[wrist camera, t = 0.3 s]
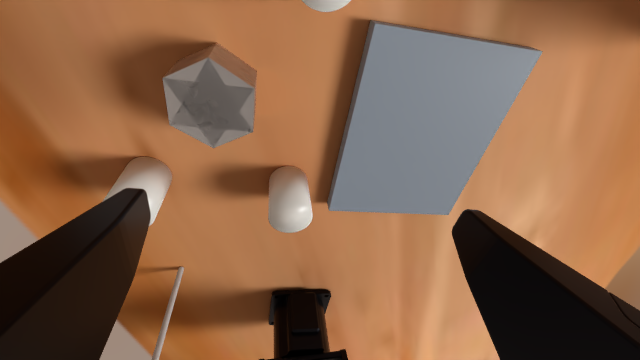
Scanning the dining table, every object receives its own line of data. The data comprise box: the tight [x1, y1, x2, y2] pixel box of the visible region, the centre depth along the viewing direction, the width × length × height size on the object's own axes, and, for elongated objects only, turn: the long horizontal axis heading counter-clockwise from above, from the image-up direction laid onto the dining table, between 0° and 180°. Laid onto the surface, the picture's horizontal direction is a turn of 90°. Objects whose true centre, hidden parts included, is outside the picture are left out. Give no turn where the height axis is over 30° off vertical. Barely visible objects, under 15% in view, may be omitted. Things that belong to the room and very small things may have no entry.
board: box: [327, 20, 542, 215], centre depth 22 cm, size 14×11×1 cm
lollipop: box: [152, 267, 184, 360], centre depth 22 cm, size 6×6×15 cm
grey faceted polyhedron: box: [163, 43, 257, 148], centre depth 17 cm, size 5×4×3 cm
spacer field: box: [103, 0, 351, 233], centre depth 17 cm, size 17×13×4 cm
